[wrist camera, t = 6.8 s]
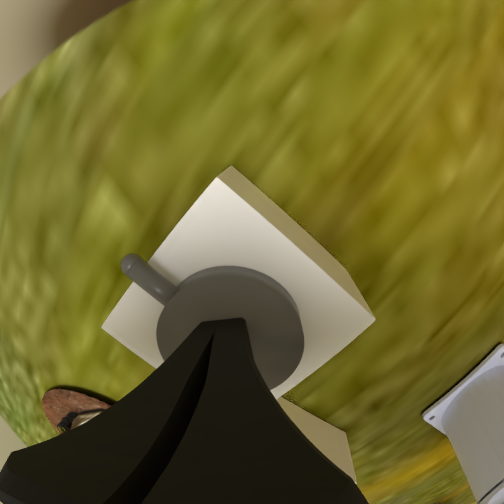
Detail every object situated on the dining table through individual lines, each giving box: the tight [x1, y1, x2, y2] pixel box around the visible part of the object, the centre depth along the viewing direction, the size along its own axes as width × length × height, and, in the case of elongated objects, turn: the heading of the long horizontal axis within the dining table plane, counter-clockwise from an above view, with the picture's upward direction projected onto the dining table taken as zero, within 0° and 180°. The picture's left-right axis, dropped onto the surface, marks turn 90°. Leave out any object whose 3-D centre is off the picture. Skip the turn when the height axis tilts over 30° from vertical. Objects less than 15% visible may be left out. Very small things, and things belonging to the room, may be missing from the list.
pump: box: [121, 254, 304, 390], centre depth 11 cm, size 6×5×4 cm
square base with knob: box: [101, 165, 376, 399], centre depth 12 cm, size 7×7×4 cm
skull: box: [42, 387, 112, 435], centre depth 19 cm, size 12×10×10 cm
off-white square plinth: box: [276, 396, 357, 484], centre depth 17 cm, size 7×7×4 cm
